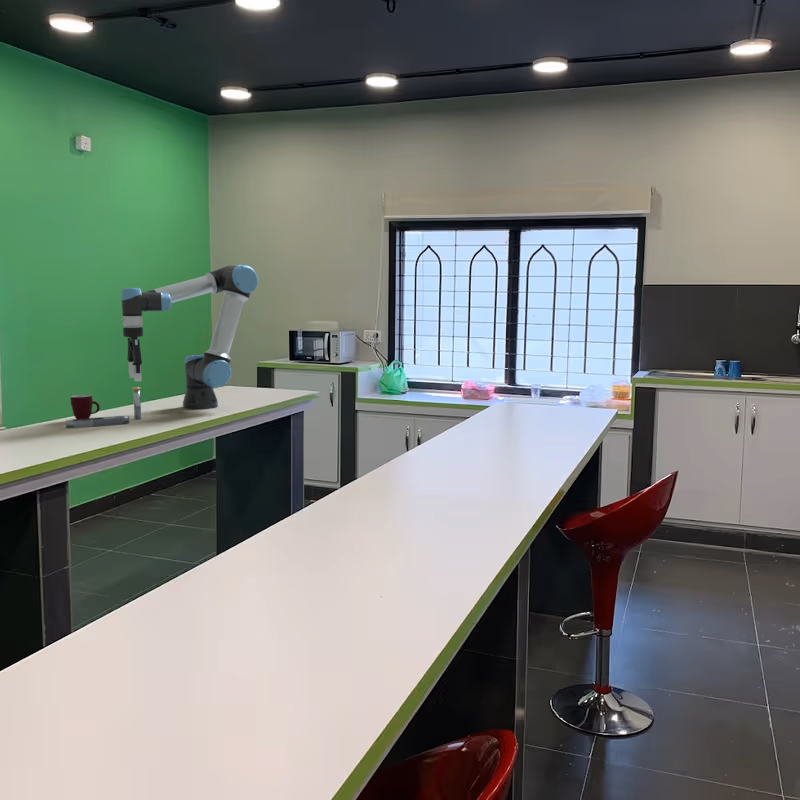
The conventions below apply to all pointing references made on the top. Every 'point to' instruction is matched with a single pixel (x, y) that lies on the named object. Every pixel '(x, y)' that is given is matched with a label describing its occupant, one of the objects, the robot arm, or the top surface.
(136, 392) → the pin
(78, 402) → the mug
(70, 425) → the grey rounded bar
